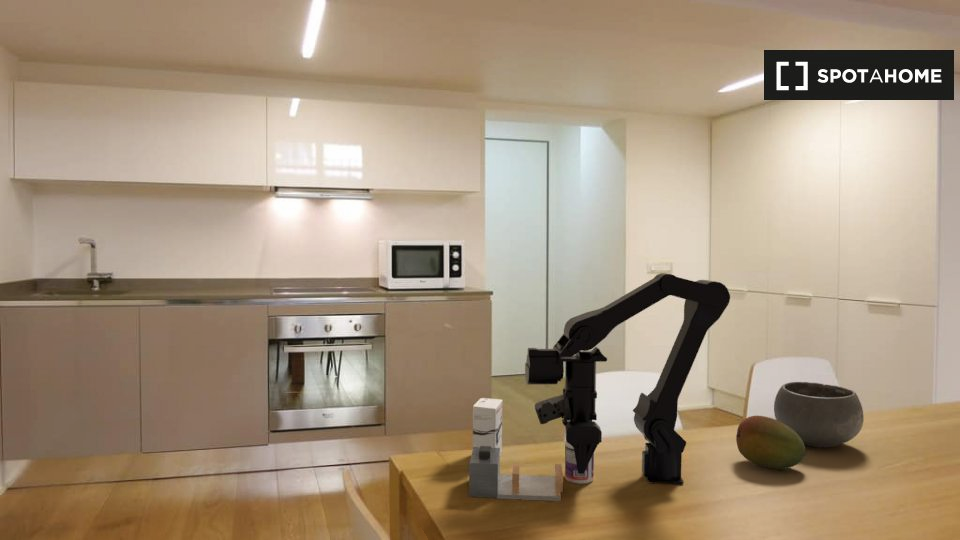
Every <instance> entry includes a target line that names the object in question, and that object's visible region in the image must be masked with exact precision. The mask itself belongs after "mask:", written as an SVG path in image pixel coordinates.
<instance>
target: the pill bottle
mask: <svg viewBox="0 0 960 540" xmlns="http://www.w3.org/2000/svg"><path fill="white" fill-rule="evenodd" d="M564 446H565V447H564V448H565V449H564V455H565V456H564V478H565V480H566V481H568V482H570V483H572V484H578V485H585V484H589V483H591V482H592V481H593V480H594V476H595V475H594V474H595V472H594V468H595V466H594V464H595V463H594V461H595V460H594V459H595V458H594V457H595V456H594V455H595V454H594V453H595V452H594V453H593V455H592V457H591V460H590V462H589V464H588V466H587V468H586V470H585V472H584V474H579V473H578V470H577V464H576V458H575V453H574V448H573V447H572V446H571V445H570V444H569V443H567V441H566V440H565V444H564Z"/></svg>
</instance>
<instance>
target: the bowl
mask: <svg viewBox="0 0 960 540" xmlns="http://www.w3.org/2000/svg"><path fill="white" fill-rule="evenodd" d="M773 402H774V404H773V413H774V419H775V420H777V421H780V422H782V423H784V424H785V425H787V426H788V427H790V428H791V429H792V430H794V431H795V432H796V433H797V434H798V435H799V436H800V438H801V439H802V441H803V443H804V446H805V445H806V446H809V447H815V448H832V447H836V446H837V447H838V446H839V445H842V444H845V443H848V442H849V441H851V440H852V439H854V438H855V437H857V436H858V434H860V432H861V430H862V429H863V425H864V409H863V406H862V402H861V400H860V398H859V396H858V394H857V392H855V390H852V389H850V388H846V387H843V386H838V385H833V384H824V383H819V382H807V381H790V382H786V383H784V384H783V385H781V387H780V388H779V389H778V391H777V393H776V395H775V397H774V401H773Z"/></svg>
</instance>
